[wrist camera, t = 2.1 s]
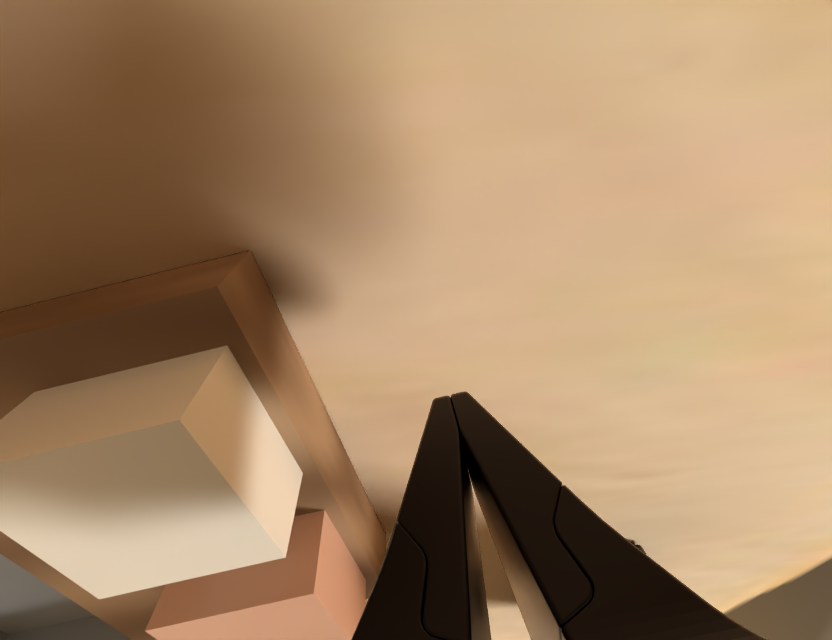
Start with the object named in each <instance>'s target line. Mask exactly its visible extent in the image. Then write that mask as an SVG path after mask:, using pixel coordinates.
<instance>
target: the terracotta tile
mask: <svg viewBox="0 0 832 640" xmlns="http://www.w3.org/2000/svg"><path fill="white" fill-rule="evenodd" d="M365 598H366V579H365V577H364V576H363V574H362V572H361V571H360V569H359V567H358V566H357V564H356V562H355V561H354V559H353V557H352V555H351V554H350V552H349V550H348V549H347V547H346V545H345V544H344V542H343V540H342V539H341V537H340V535H339V533H338V532H337V530H336V528H335V527H334V525H333V523H332V522H331V520H330V518H329V517H328V515H327V513H326V511H325V510H322V511H317V512H313V513H308V514H304V515H300V516H295V517H294V519H293V524H292V529H291V534H290V539H289V544H288V549H287V553H286V557H285V558H281V559H277V560H272V561H268V562H263V563H259V564H254V565H250V566H245V567H241V568H237V569H232V570H228V571H223V572H219V573H214V574H210V575H205V576H201V577H197V578H192V579H188V580H183V581H179V582H174V583H170V584H166V585H165V587H164V589H163V592H162V594H161V596H160V598H159V600H158V603H157V605H156V607H155V609H154V612H153V614H152V616H151V618H150V621H149V623H148V625H147V627H146V629H145V632H147V633H148V634H150V635H151V636H153V637H154V638H156V639H157V640H351V639H352V637H353V634H354V632H355V630H356V627H357V625H358V623H359V620H360V618H361V616H362V613H363V611H364V609H365Z"/></svg>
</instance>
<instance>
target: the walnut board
mask: <svg viewBox="0 0 832 640" xmlns="http://www.w3.org/2000/svg"><path fill="white" fill-rule="evenodd" d="M223 346H228V347H229V349H230V351H231V352H232V354H233V356H234V357H235V359H236V361H237V362H238V364H239V366H240V368H241V369H242V371H243V373H244V374H245V376H246V378H247V379H248V381H249V383H250V384H251V386H252V388H253V390H254V391H255V393H256V395H257V396H258V398H259V400H260V401H261V403H262V405H263V406H264V408H265V410H266V412H267V413H268V415H269V417H270V418H271V420H272V422H273V423H274V425H275V427H276V428H277V430H278V432H279V434H280V435H281V437H282V439H283V440H284V442H285V444H286V445H287V447H288V449H289V450H290V452H291V454H292V456H293V457H294V459H295V461H296V462H297V464H298V466H299V467H300V469H301V471H302V473H303V475H302V480H301V485H300V490H299V495H298V500H297V505H296V509H295V514H294V517H295V516H300V515H304V514H308V513H313V512H317V511H322V510H325V511H326V513H327V515H328V517H329V518H330V520H331V522H332V523H333V525H334V527H335V528H336V530H337V532H338V533H339V535H340V537H341V539H342V540H343V542H344V544H345V545H346V547H347V549H348V550H349V552H350V554H351V555H352V557H353V559H354V561H355V562H356V564H357V566H358V567H359V569H360V571H361V572H362V574H363V576H364V577H365V579H366V598H365V599H367V598H369V597H370V594H371V592H372V589H373V587H374V584H375V582H376V579H377V577H378V574H379V572H380V569H381V566H382V564H383V561H384V558H385V555H386V535H385V533H384V531H383V529H382V527H381V525H380V523H379V521H378V518H377V516H376V514H375V512H374V510H373V508H372V506H371V504H370V502H369V499H368V497H367V495H366V493H365V491H364V489H363V487H362V485H361V483H360V480H359V478H358V476H357V474H356V472H355V470H354V468H353V466H352V464H351V461H350V459H349V457H348V455H347V453H346V451H345V449H344V447H343V445H342V442H341V440H340V438H339V436H338V434H337V432H336V430H335V428H334V426H333V423H332V421H331V419H330V417H329V415H328V413H327V411H326V409H325V406H324V404H323V402H322V400H321V398H320V396H319V394H318V392H317V390H316V387H315V385H314V383H313V381H312V379H311V377H310V375H309V373H308V371H307V368H306V366H305V364H304V362H303V360H302V358H301V356H300V354H299V352H298V349H297V347H296V345H295V343H294V341H293V339H292V337H291V335H290V333H289V330H288V328H287V326H286V324H285V322H284V320H283V318H282V316H281V314H280V311H279V309H278V307H277V305H276V303H275V301H274V299H273V297H272V295H271V292H270V290H269V288H268V286H267V284H266V282H265V280H264V278H263V275H262V273H261V271H260V269H259V267H258V265H257V263H256V261H255V259H254V256H253V254H252V252H251V250H250V251H246V252H242V253H238V254H234V255H230V256H226V257H222V258H218V259H214V260H210V261H205V262H201V263H197V264H193V265H189V266H185V267H181V268H177V269H173V270H169V271H165V272H161V273H157V274H153V275H149V276H145V277H141V278H137V279H133V280H129V281H125V282H121V283H117V284H112V285H108V286H104V287H100V288H96V289H92V290H88V291H84V292H80V293H76V294H72V295H68V296H64V297H60V298H56V299H52V300H48V301H44V302H40V303H36V304H32V305H28V306H24V307H19V308H15V309H11V310H7V311H3V312H0V420H1V419H2V418H3V417H4V416H6V415H7V414H8V413H9V412H10V411H12V410H13V409H14V408H15V407H17V406H18V405H19V404H20V403H22V402H23V401H24V400H25V399H27V398H28V397H29V396H30V395H31V394H33V393H34V392H36V391H40V390H45V389H49V388H53V387H57V386H61V385H65V384H69V383H74V382H78V381H82V380H86V379H90V378H94V377H98V376H103V375H107V374H111V373H115V372H119V371H123V370H128V369H132V368H136V367H140V366H144V365H148V364H152V363H157V362H161V361H165V360H169V359H173V358H177V357H181V356H186V355H190V354H194V353H198V352H202V351H206V350H211V349H215V348H219V347H223ZM0 554H2V555H3V556H5V557H6V558H8V559H9V560H11V561H12V562H14V563H15V564H17V565H19V566H20V567H22V568H23V569H25V570H26V571H28V572H29V573H31V574H32V575H34V576H35V577H37V578H38V579H40V580H41V581H43V582H45V583H46V584H48V585H49V586H51V587H52V588H54V589H55V590H57V591H58V592H60V593H61V594H63V595H64V596H66V597H68V598H69V599H71V600H72V601H74V602H75V603H77V604H78V605H80V606H81V607H83V608H84V609H86V610H87V611H89V612H90V613H92V614H94V615H95V616H97V617H98V618H100V619H101V620H103V621H104V622H106V623H107V624H109V625H110V626H112V627H113V628H115V629H116V630H118V631H120V632H121V633H123V634H124V635H126V636H127V637H129V638H130V639H132V640H157V639H156V638H154V637H153V636H151V635H150V634H148V633H147V632H145V629H146V627H147V625H148V623H149V621H150V618H151V616H152V614H153V612H154V609H155V607H156V605H157V603H158V600H159V598H160V596H161V594H162V592H163V589H164V587H165V585H166V584H165V585H161V586H157V587H152V588H148V589H143V590H139V591H134V592H130V593H125V594H121V595H116V596H112V597H108V598H103V599H98V598H96V597H95V596H93V595H92V594H91V593H89V592H88V591H86V590H85V589H83V588H82V587H80V586H79V585H78V584H76V583H75V582H73V581H72V580H70V579H69V578H68V577H66V576H65V575H63V574H62V573H60V572H59V571H57V570H56V569H55V568H53V567H52V566H50V565H49V564H47V563H46V562H44V561H43V560H42V559H40V558H39V557H37V556H36V555H34V554H33V553H31V552H30V551H29V550H27V549H26V548H24V547H23V546H21V545H20V544H18V543H17V542H16V541H14V540H13V539H11V538H10V537H8V536H7V535H5V534H4V533H3V532H1V531H0Z"/></svg>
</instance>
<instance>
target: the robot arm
mask: <svg viewBox="0 0 832 640" xmlns="http://www.w3.org/2000/svg"><path fill="white" fill-rule="evenodd" d="M468 471H469V472H468ZM469 475H470V476H469ZM470 479H471V481H470ZM471 482H472V485H473V488H474V491H475V494H476V497H477V499H478V502H479V504H480V507H481V510H482V512H483V515H484V518H485V520H486V523H487V525H488V528H489V531H490V533H491V536H492V538H493V541H494V544H495V546H496V549H497V551H498V554H499V557H500V559H501V562H502V565H503V567H504V570H505V572H506V575H507V578H508V580H509V583H510V585H511V588H512V591H513V593H514V596H515V598H516V601H517V604H518V606H519V609H520V611H521V614H522V617H523V619H524V622H525V625H526V627H527V630H528V632H529V635H530V638H531V640H768V639H766V638H764V637H762V636H760V635H758V634H756V633H754V632H753V631H751V630H749V629H747V628H745V627H744V626H742V625H740V624H739V623H737V622H735V621H734V620H732V619H730V618H729V617H727V616H726V615H725V614H723V613H722V612H720V611H719V610H717V609H716V608H714V607H713V606H712V605H710V604H709V603H708V602H706V601H705V600H704V599H702V598H701V597H700V596H698V595H697V594H696V593H695V592H693V591H692V590H691V589H689V588H688V587H687V586H686V585H684V584H683V583H682V582H680V581H679V580H678V579H677V578H675V577H674V576H673V575H672V574H670V573H669V572H668V571H666V570H665V569H664V568H663V567H661V566H660V565H659V564H657V563H656V562H655V561H654V560H652V559H651V558H650V557H648V556H647V555H646V553H645V551H644V550H643V548H642V546H640V545H633V544H632V543H630V542H629V541H628V540H627V539H625V538H624V537H623V536H622V535H621V534H619V533H618V532H617V531H616V530H614V529H613V528H612V527H611V526H609V525H608V524H607V523H606V522H605V521H603V520H602V519H601V518H600V517H599V516H598V515H596V514H595V513H594V512H593V511H592V510H591V509H590V508H589V507H588V506H587V505H585V504H584V503H583V502H582V501H581V500H580V499H579V498H578V497H577V496H576V495H575V494H574V493H573V492H571V491H570V490H569V489H568V488H567V487H566V486H565V485H563V486H562V482H561V481H560V480H559V479H558V478H557V477H556V476H554V475H553V474H552V473H551V472H550V471H549V470H548V469H547V468H546V467H545V466H544V465H543V464H542V463H541V462H540V461H539V460H538V459H537V458H536V457H535V456H534V455H533V454H531V453H530V452H529V451H528V450H527V449H526V448H525V447H524V446H523V445H522V444H521V443H520V442H519V441H518V440H517V439H516V438H515V437H514V436H513V435H512V434H511V433H509V432H508V431H507V430H506V429H505V428H504V427H503V426H502V425H501V424H500V423H499V422H498V421H497V420H496V419H495V418H494V417H493V416H492V415H491V414H490V413H489V412H488V411H486V410H485V409H484V408H483V407H482V406H481V405H480V404H479V403H478V402H477V401H476V400H475V399H474V398H473V397H472V396H471V395H470V394H469V393H467V392H460V393H456V394H452V395H451V398H450V397H449V396H443V397H439V398H435V399H434V400H433V402H432V405H431V409H430V412H429V415H428V419H427V422H426V425H425V428H424V432H423V435H422V438H421V442H420V445H419V448H418V451H417V455H416V458H415V461H414V465H413V468H412V471H411V474H410V478H409V481H408V484H407V488H406V491H405V494H404V497H403V501H402V504H401V507H400V511H399V514H398V517H397V523H396V524H395V527H394V530H393V533H392V536H391V540H390V543H389V546H388V549H387V552H386V555H385V558H384V561H383V564H382V566H381V569H380V572H379V574H378V577H377V579H376V582H375V584H374V587H373V589H372V592H371V594H370V597H369V599H368V602H367V604H366V606H365V609H364V611H363V613H362V616H361V618H360V620H359V623H358V625H357V627H356V630H355V632H354V634H353V637H352V639H351V640H491V633H490V625H489V617H488V609H487V601H486V594H485V586H484V578H483V570H482V562H481V554H480V547H479V539H478V531H477V523H476V515H475V507H474V499H473V492H472V486H471Z"/></svg>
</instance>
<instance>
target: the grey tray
mask: <svg viewBox="0 0 832 640" xmlns="http://www.w3.org/2000/svg"><path fill="white" fill-rule="evenodd" d="M0 640H132V639H130V638H129V637H127V636H126V635H124V634H123V633H121V632H120V631H118V630H116V629H115V628H113V627H112V626H110V625H109V624H107V623H106V622H104V621H103V620H101V619H100V618H98V617H97V616H95V615H94V614H92V613H90V612H89V611H87V610H86V609H84V608H83V607H81V606H80V605H78V604H77V603H75V602H74V601H72V600H71V599H69V598H68V597H66V596H64V595H63V594H61V593H60V592H58V591H57V590H55V589H54V588H52V587H51V586H49V585H48V584H46V583H45V582H43V581H41V580H40V579H38V578H37V577H35V576H34V575H32V574H31V573H29V572H28V571H26V570H25V569H23V568H22V567H20V566H19V565H17V564H15V563H14V562H12V561H11V560H9V559H8V558H6V557H5V556H3V555H2V554H0Z"/></svg>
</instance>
